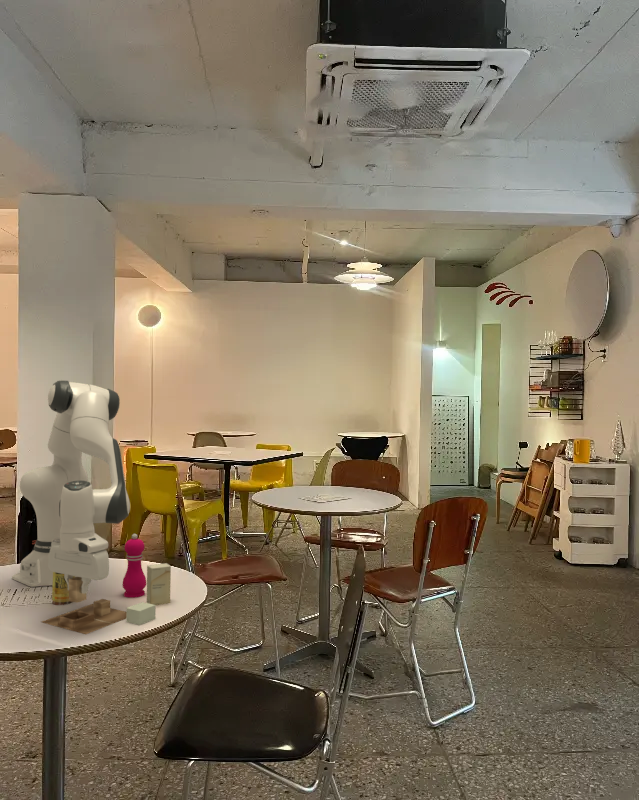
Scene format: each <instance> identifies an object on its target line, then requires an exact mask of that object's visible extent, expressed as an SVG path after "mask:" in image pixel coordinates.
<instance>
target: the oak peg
mask: <svg viewBox="0 0 639 800" xmlns="http://www.w3.org/2000/svg"><path fill="white" fill-rule="evenodd" d="M82 584H83V581H82V577H74V578H71V579H69V601H71V602H72V603H81V602H83V601H84V602H85V601H86V600H87V596H88V595H87V593H85V594H83V593H80V592H79V587H80V586H82Z"/></svg>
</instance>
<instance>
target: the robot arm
mask: <svg viewBox="0 0 639 800" xmlns="http://www.w3.org/2000/svg"><path fill="white" fill-rule="evenodd" d="M47 401H48V406H49V408H50V409H51V410H52V412H56V416H55V418H54V422H53V424H52V428H51V431H50V435H49V438H48V443H47V449H48V451H49V452H50V453H51V454H52V455H53V463H52V465H49V466H42V467H37V468H34V469H31V470H29V471H27V472H25V473H24V474H23V475H22V476H21V478H20V482H19V490H20V492H21V494H22V496H23V497H24V499H26V500H27V501H29V502H30V503H31V505H32V508H33V510H34V512H35V515H36V526H37V530H36V531H37V539H36V540H32V543H31V544H32V545H34V546H33V550H32V551H31V552H30V553H29V554H27V555H26V556H25V557H24V558H23V559H22V560H21V561H20V565H19V572H17V573H15V574H13V575H12V577H11V579H12V580H14V581H16V582H19V583H21V584H23V585H26V586H28V587H31V588H35V587H43V586H45V587H46V586H53V572H56V573H61V574H64V578H65V580H66V583H67V584H68V590H69V579H71V578H73V577H74V576H75V577H82V581H83V584H82V586H80V587H79V592H80V593H83V594H85V593H86V594H87V593H88V592H89V585H90V584H91V581H92V580H93V581H100V580H105V579H106V578H107V577H108V575H109V572H110V564H109V563H110V559H109V554H108V551H107V549H108V548H109V542H108V540H106V539H105V538H103V537H101V536H100V535H99V534H97V533H96V531H95V525H94V524H104V523H105V524H113V525H114V524H115V525H118V524H120V523H122V522H123V521H125V519H127V518H128V517H129V513H130V511H131V502H130V501H131V500H130V498H129V494H128V491H127V487H126V479H125V473H124V466H123V459H122V453H121V448H120V444H119V441H118V440H117V439H116V438H114V437H112V435H111V433H110V431H109V425H110V421H112V420H113V419H114V418H115V417H116V416H117V415H118V414H117V413H119V409H120V403H121V402H120V395H119V393H117V392H116V391H114V390H112V389H110V388H107V389H106V388H103V387H101V386H98V385H95V384H91V383H88V384H87V383H83V382H74V381H69V380H57V381H55V382H54V383H53V384H52V386H51V387H50V389H49V391H48V395H47ZM82 454H85V455H88V456H92V457H94V458H98V459H100V460H102V461H104V462H105V463H106V464H107V465H108V468H109V469H108V470H109V475H110V476H109V478H110V484H111V486H110V487H108V488H99V489H98V488H97V489H95V488H94V489H93V485H92V483H91V482H89V477H88V472H87V470H86V469H85V467H84V466H83V462H82V460H83V459H82Z"/></svg>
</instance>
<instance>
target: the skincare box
mask: <svg viewBox="0 0 639 800" xmlns="http://www.w3.org/2000/svg"><path fill="white" fill-rule="evenodd" d="M171 567H172V566H171V565H170V564H169V563H167V562H166V563H157V564H150V565H149V564H148V565H146V603H149V604H153V605H156V606H161V605H169V604H171V573H172V572H171V571H172V569H171Z"/></svg>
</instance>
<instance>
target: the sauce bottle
mask: <svg viewBox="0 0 639 800" xmlns="http://www.w3.org/2000/svg"><path fill="white" fill-rule="evenodd" d="M74 577H75V576H74ZM74 577H73V578H74ZM51 586H52V588H51V589H52V593H51V594H52V595H51V600H52V605H55V606H65V605H68V604H69V605H70V604H72V603H73V602H71V601H69V590H68V584H67V583H66V580H65V578H64V574H61V573H56V572H53V585H51Z"/></svg>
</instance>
